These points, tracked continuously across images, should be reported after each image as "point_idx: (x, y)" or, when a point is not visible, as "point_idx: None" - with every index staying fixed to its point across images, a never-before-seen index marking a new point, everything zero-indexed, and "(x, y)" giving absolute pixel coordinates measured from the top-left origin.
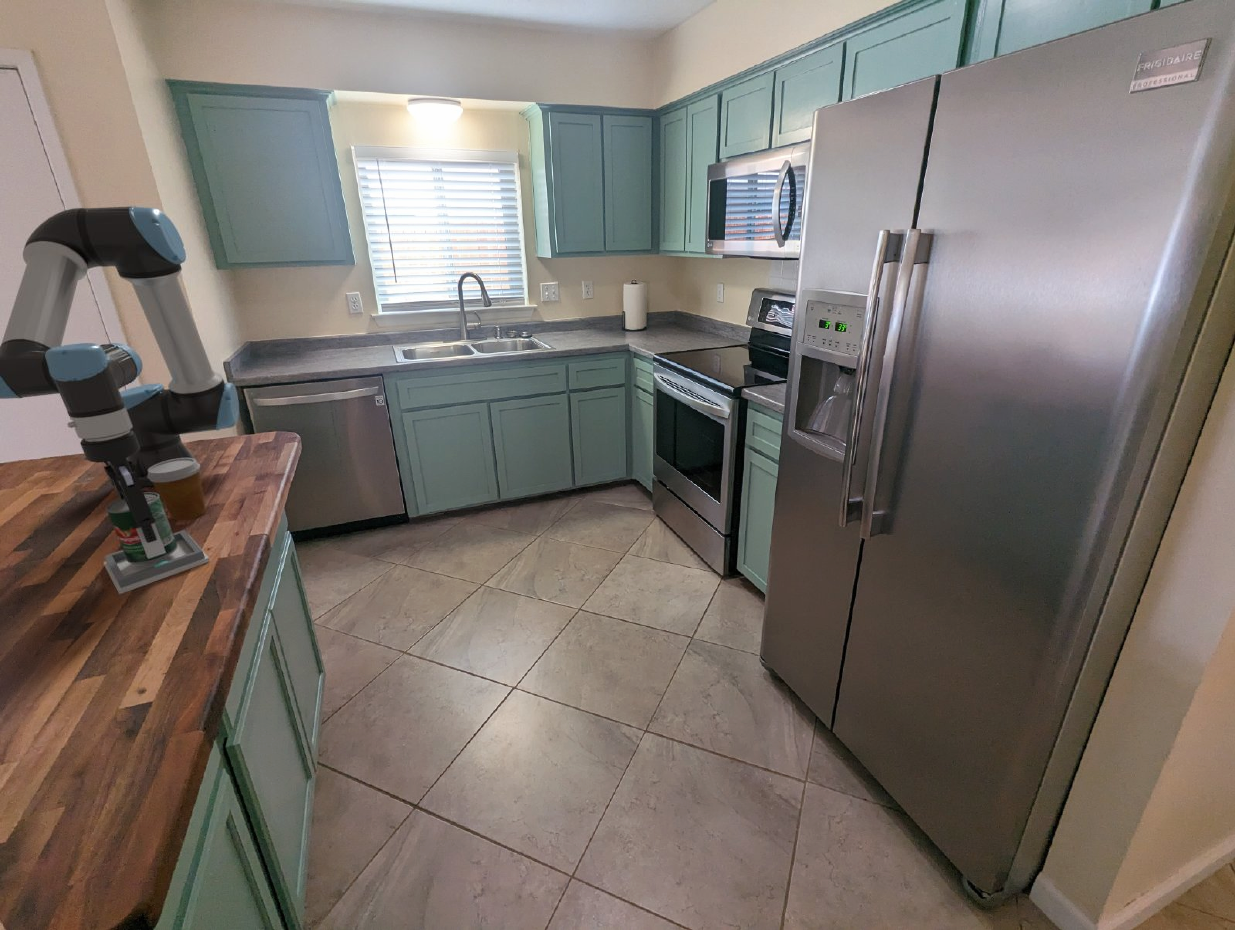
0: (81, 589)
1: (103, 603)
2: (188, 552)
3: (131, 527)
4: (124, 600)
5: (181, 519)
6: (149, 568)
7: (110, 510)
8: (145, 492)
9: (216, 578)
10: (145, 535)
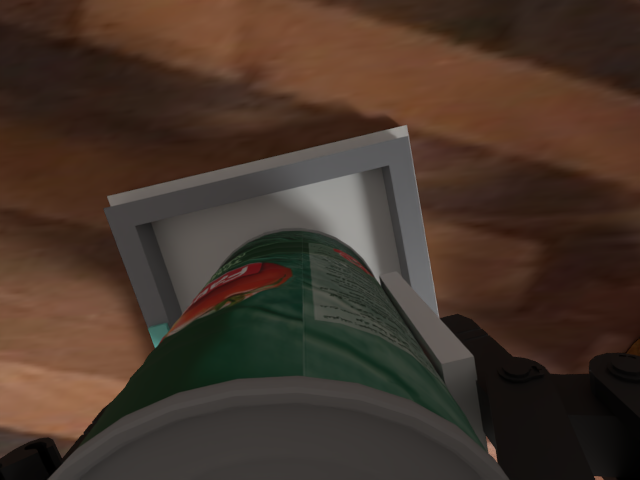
0: (244, 63)
1: (73, 149)
2: None
3: (29, 451)
4: (57, 213)
5: (631, 353)
6: (155, 308)
7: (180, 426)
8: None
9: (63, 454)
10: (83, 438)
